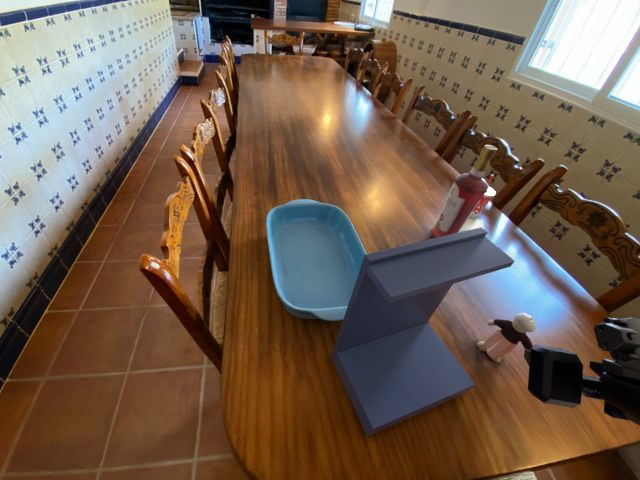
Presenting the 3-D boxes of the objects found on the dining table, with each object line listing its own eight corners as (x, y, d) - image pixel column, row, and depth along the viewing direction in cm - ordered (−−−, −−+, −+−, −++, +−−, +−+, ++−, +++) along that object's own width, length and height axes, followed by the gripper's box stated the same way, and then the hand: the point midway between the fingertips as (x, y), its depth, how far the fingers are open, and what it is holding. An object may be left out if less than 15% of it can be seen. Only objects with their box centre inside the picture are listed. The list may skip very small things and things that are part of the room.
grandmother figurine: (469, 345, 59) (502, 309, 51) (476, 333, 61) (509, 297, 53) (510, 375, 55) (553, 341, 47) (516, 361, 57) (559, 326, 49)
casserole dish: (386, 330, 60) (396, 311, 56) (278, 344, 57) (280, 324, 52) (336, 216, 88) (340, 196, 84) (261, 220, 85) (261, 200, 80)
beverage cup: (483, 213, 94) (507, 175, 86) (478, 221, 91) (502, 183, 82) (463, 204, 97) (484, 167, 89) (457, 212, 94) (478, 174, 85)
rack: (465, 393, 52) (572, 300, 34) (367, 437, 46) (435, 351, 28) (417, 327, 62) (481, 227, 44) (330, 356, 56) (364, 254, 38)
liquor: (424, 228, 86) (467, 139, 69) (448, 230, 87) (498, 141, 69) (433, 246, 81) (483, 154, 63) (459, 248, 81) (516, 156, 63)
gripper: (804, 352, 28) (627, 314, 44) (597, 320, 30) (497, 294, 45) (804, 476, 27) (623, 392, 43) (590, 437, 29) (490, 369, 44)
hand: (557, 359), depth 44 cm, fingers open, 9 cm apart
